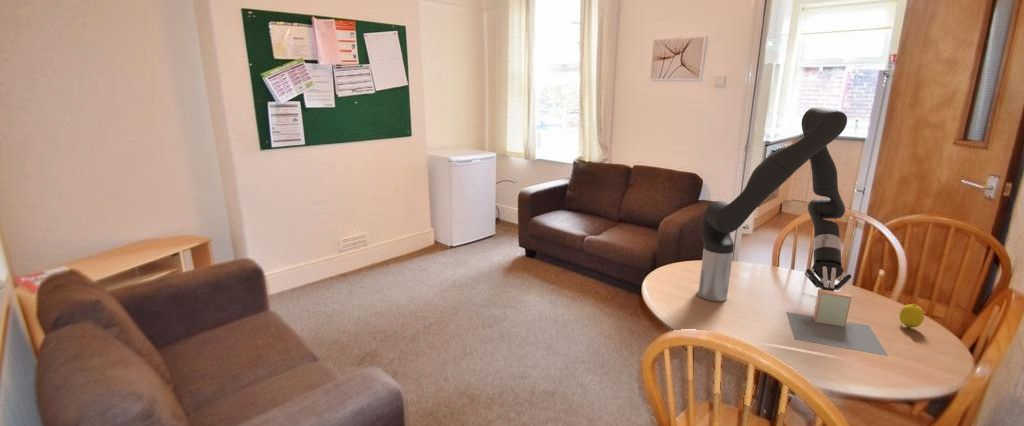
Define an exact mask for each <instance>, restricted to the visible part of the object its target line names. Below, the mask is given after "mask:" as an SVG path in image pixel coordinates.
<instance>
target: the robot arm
mask: <svg viewBox="0 0 1024 426" xmlns="http://www.w3.org/2000/svg"><path fill="white" fill-rule="evenodd" d="M847 124H848V117H847V114H846V113H844V112H842V111H840V110H837V109H833V108H828V107H827V108H826V107H822V106H814V107H810V108H809V109H808V110H807V111H805V112H804V114H803V116H802V119H801V129H802V134H803V137H802V138H801V139H798V140H797V141H795V142H794V143H792V144H790V145H789V144H788V145H787V146H785V147H782V148H780V149H778V150H776V151H775V152H772V153H771V154H769V155H768V156H766V158H764V160H762V161H761V162H760V163H759V164H758V165H757V166H756V168H754V170H752V172H751V175H750V176H749V178H748V181H747V183H746V186H745V187H744V188H743V190H742V192H740V193H739V195H738V196H737V197H736V198H734V199H733V200H732V201H731V202H730V203H727V202H725V201H723V200H716V201H713V202H711V203H710V204H709V205H708V206H707V207H706V208H705V211H704V214H703V224H702V240H703V249H702V250H703V251H702V260H701V267H700V276H699V283H698V284H699V285H698V293H697V297H698V298H702V299H704V300H707V301H712V302H723V301H724V302H725V301H726V300H727V298H728V292H729V285H730V278H731V273H732V271H731V270H732V264H733V256H734V255H733V254H734V247H735V244H734V242H733V241H734V240H733V239H732V238H731V233H733V232H735V231H737V230H738V229H739V228H740V227H741V226H742V225H743V224H744V223H745V222H746V220H748V219H749V217H750V216H751V215H752V214H753V212H754V211H755V210H756V209H757V208H758V207H759V206H761V204H762V203H764V202H765V201H766V199H768V198H769V197H770V195H772V194H773V193H774V192H775V191H776V190H777V189H778V188H779V187H780V186H782V185H783V184H784V183H785V182H786V181H787V180H788V179H790V178H791V176H792V175H794V173H795V172H797V171H798V170H799V168H801V167H802V166H803V165H804V164H806V163H807V162H808V161H809V162H810V168H811V176H812V177H811V181H812V191H813V194H815V195H816V196H819V197H824V198H814V199H812V200H810V201H809V202H808V204H807V210H808V214H809V217H810V219H811V222H812V224H813V231H814V233H813V234H814V235H813V237H814V239H813V247H812V250H813V265H812V267H811V268H807V269H806V270H805V271H804V275H805V276H806V277H807V278H808V280H809V281H810V282H811V283H812V284H813V286H814V287H816V288H818V289H821V290H828V291H839V290H840V289H841V288H842V287H843V286H844V285H846V283H848V282H850V280H851V278H852V274H847V272H845V271H844V268H843V266H842V245H841V239H840V238H841V237H840V236H841V235H840V227H839V226H840V225H839V224H838V223H837V222H835V221H832V220H833V219H835V220H837V219H838V220H839V219H841V218H842V217H843V216H844V215H845V212H846V205H845V204H844V202H843V199H842V197H841V195H840V191H839V185H838V183H839V182H838V181H839V180H838V171H837V166H836V164H835V162H834V159H833V158H832V156H831V153H830V151H829V149H828V146H827V145H829V144H830V143H831V142H833V141H834V140H836V139H837V138H838V137H839V136H840V135H841V134H842V133H843V131H844V130H845V128H846V126H847ZM828 219H829V220H828ZM839 277H840V279H841V280H840V281H838V283H837V284H836V280H837V279H838V278H839Z"/></svg>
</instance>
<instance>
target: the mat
mask: <svg viewBox="0 0 1024 426" xmlns="http://www.w3.org/2000/svg"><path fill="white" fill-rule="evenodd" d="M786 314H787V319H788V321H789V325H790V328H791V331H792V334H793V335H792V336H793V337H794V340H797V341H803V342H807V343H813V344H818V345H824V346H831V347H836V348H840V349H841V348H842V349H846V350H853V351H858V352H864V353H871V354H877V355H880V356H886V357H888V356H889V355H888V353H887V352H886V350H885V349H884V347H883V345H882V343H881V342H880V340H879V339H878V337H877V335H876V334H875V332H874V330H873V329H872V328H871V326H870V325H868V324H865V323H864V324H863V323H857V322H856V323H855V322H849V321H846V326H845V327H840V326H834V325H828V324H822V323H816V322H814V320H813V316H812V315H806V314H800V313H793V312H788V311H786Z"/></svg>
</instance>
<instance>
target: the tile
mask: <svg viewBox="0 0 1024 426" xmlns="http://www.w3.org/2000/svg"><path fill="white" fill-rule="evenodd" d="M851 301H852V295H851V294H850V293H848V292H841V291H837V290H834V291H828V290H822V289H821V288H818V290H817V295H816V300H815V305H814V310H813V320H814V322H816V323H822V324H828V325H834V326H840V327H845V326H846V322H848V315H849V311H850V306H851Z"/></svg>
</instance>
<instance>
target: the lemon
mask: <svg viewBox="0 0 1024 426" xmlns="http://www.w3.org/2000/svg"><path fill="white" fill-rule="evenodd" d="M924 319H925V314H924V310H923V309H922V307H920V306H919V305H917V304H916V303H911V304H910V303H908V304H906V305H904V306H903V307H902V308H901V309H900V312H899V321H900V322H901V324H903V325H904V326H905V327H907V329H912V328H917V327H919V326H921V324H923V322H924Z"/></svg>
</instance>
